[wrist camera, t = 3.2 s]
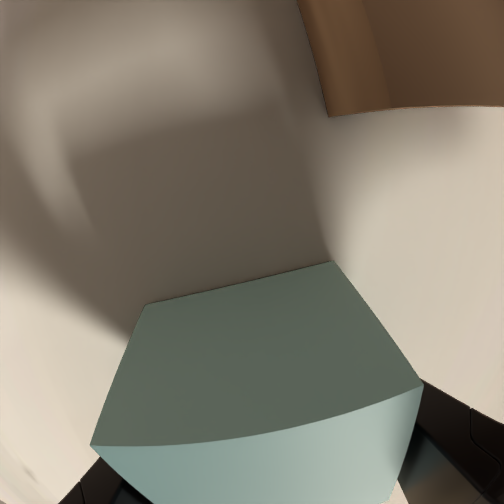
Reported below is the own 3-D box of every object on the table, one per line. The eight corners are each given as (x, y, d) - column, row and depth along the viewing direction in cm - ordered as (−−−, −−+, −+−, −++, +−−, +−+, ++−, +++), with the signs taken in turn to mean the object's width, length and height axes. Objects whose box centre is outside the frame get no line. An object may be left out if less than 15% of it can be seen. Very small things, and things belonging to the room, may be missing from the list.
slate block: (333, 260, 8) (423, 384, 3) (345, 391, 9) (388, 500, 5) (145, 304, 8) (89, 445, 4) (203, 421, 10) (199, 535, 5)
